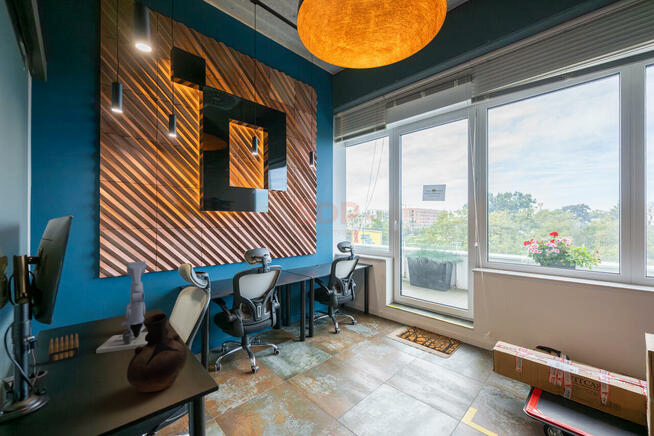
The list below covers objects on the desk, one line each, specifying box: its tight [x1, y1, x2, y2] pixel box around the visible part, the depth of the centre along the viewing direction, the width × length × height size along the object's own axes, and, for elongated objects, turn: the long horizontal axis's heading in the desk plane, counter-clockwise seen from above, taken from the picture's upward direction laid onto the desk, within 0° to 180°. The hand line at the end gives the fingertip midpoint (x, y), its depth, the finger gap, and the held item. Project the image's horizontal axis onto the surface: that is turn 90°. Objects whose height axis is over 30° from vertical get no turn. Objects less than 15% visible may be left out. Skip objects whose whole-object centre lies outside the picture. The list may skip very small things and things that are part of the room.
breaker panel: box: [95, 331, 148, 354], centre depth 148 cm, size 18×22×2 cm
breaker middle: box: [122, 329, 130, 340], centre depth 148 cm, size 3×2×4 cm
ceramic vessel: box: [126, 312, 188, 393], centre depth 108 cm, size 21×18×30 cm
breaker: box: [124, 334, 132, 344], centre depth 143 cm, size 3×2×4 cm
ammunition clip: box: [47, 333, 79, 365], centre depth 130 cm, size 11×2×12 cm, turn 135°
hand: (136, 337), depth 149 cm, fingers closed
